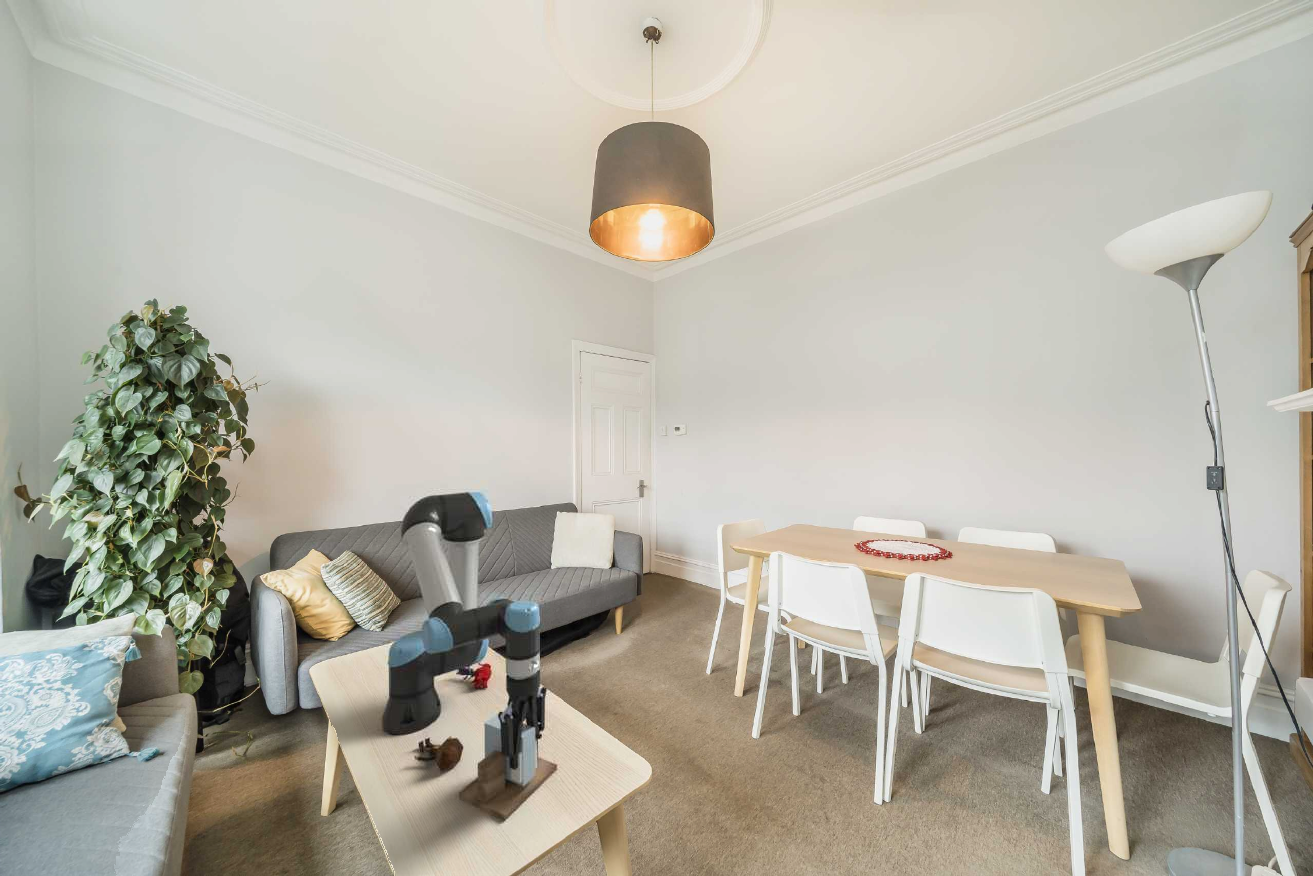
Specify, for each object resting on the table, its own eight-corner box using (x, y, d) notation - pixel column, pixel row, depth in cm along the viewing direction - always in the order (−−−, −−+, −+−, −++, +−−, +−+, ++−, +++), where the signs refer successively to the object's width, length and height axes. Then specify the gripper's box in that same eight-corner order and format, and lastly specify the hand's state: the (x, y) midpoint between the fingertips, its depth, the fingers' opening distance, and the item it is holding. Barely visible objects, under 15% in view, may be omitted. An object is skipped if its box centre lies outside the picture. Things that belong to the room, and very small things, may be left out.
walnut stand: (458, 798, 105) (458, 757, 105) (514, 752, 120) (513, 716, 120) (504, 821, 98) (504, 777, 98) (557, 769, 113) (556, 731, 113)
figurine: (464, 671, 160) (501, 678, 156) (446, 689, 152) (485, 696, 148) (461, 655, 159) (498, 661, 154) (443, 672, 151) (482, 679, 146)
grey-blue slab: (484, 769, 110) (484, 723, 110) (497, 759, 113) (497, 714, 113) (523, 786, 104) (522, 737, 104) (535, 775, 108) (535, 727, 108)
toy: (440, 722, 126) (469, 730, 117) (443, 750, 125) (473, 761, 116) (403, 740, 118) (432, 750, 110) (407, 771, 117) (436, 784, 109)
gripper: (507, 694, 97) (508, 805, 97) (560, 659, 113) (561, 755, 113) (482, 685, 101) (483, 793, 101) (536, 652, 116) (537, 746, 116)
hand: (524, 773), depth 107 cm, fingers closed on grey-blue slab, 4 cm apart
